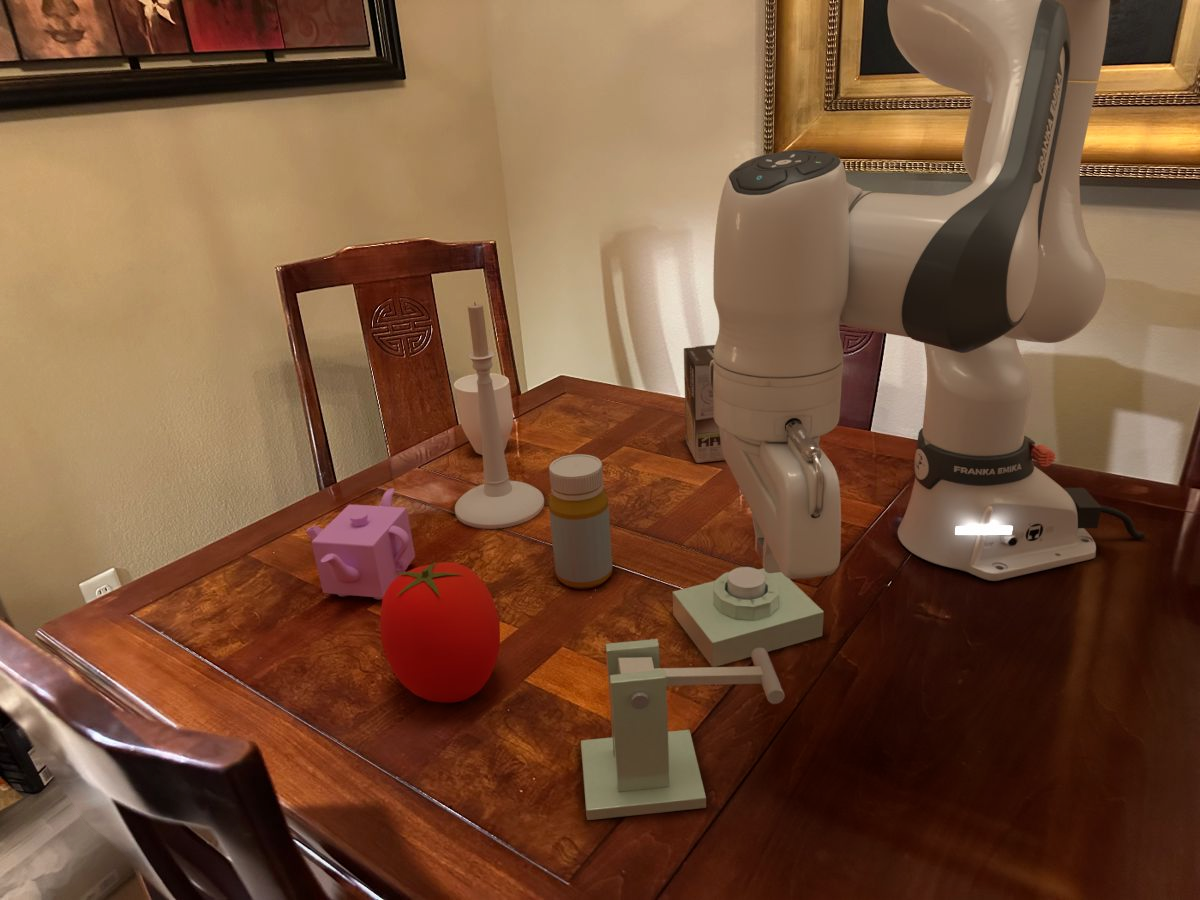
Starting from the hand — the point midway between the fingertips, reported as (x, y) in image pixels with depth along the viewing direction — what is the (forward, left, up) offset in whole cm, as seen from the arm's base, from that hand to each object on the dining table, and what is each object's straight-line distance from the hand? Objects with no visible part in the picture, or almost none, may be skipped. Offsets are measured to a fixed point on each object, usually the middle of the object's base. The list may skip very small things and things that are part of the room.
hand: (770, 562), depth 65 cm
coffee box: (-8, -66, -21) cm, 70 cm away
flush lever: (+6, 0, -12) cm, 13 cm away
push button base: (-3, -20, -21) cm, 29 cm away
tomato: (+29, -15, -21) cm, 39 cm away
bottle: (+14, -33, -21) cm, 42 cm away
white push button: (-3, -20, -16) cm, 26 cm away
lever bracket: (+11, 0, -21) cm, 24 cm away
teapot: (+41, -36, -21) cm, 58 cm away
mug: (+27, -75, -21) cm, 82 cm away
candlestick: (+25, -53, -21) cm, 62 cm away
